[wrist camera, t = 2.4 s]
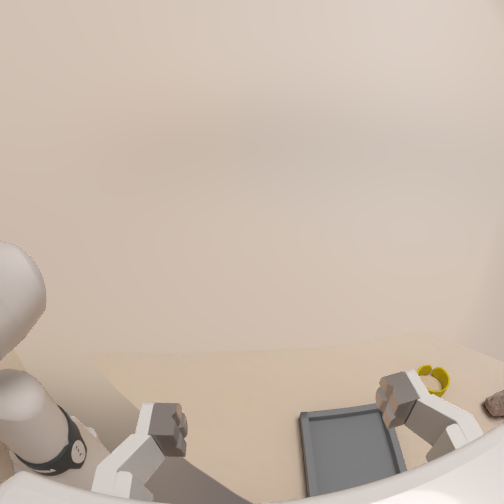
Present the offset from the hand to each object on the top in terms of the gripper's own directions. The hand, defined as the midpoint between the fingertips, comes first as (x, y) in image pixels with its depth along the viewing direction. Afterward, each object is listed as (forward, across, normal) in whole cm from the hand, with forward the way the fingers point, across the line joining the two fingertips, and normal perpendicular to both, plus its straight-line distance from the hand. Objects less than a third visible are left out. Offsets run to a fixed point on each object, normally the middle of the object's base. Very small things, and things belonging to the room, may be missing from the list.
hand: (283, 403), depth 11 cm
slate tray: (+12, -13, +38) cm, 42 cm away
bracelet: (+24, -34, +39) cm, 57 cm away
